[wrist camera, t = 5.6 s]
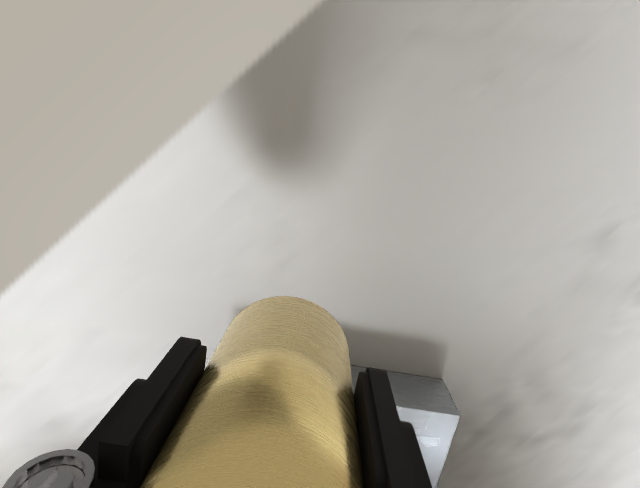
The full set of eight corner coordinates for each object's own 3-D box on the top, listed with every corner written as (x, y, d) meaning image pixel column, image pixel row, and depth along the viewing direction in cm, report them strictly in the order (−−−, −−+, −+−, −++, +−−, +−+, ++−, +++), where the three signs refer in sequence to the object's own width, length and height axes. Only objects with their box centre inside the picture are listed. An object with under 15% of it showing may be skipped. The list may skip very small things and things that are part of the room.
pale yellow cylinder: (360, 308, 12) (438, 680, 4) (336, 418, 14) (353, 906, 5) (229, 285, 12) (-4, 615, 4) (215, 399, 13) (11, 862, 5)
